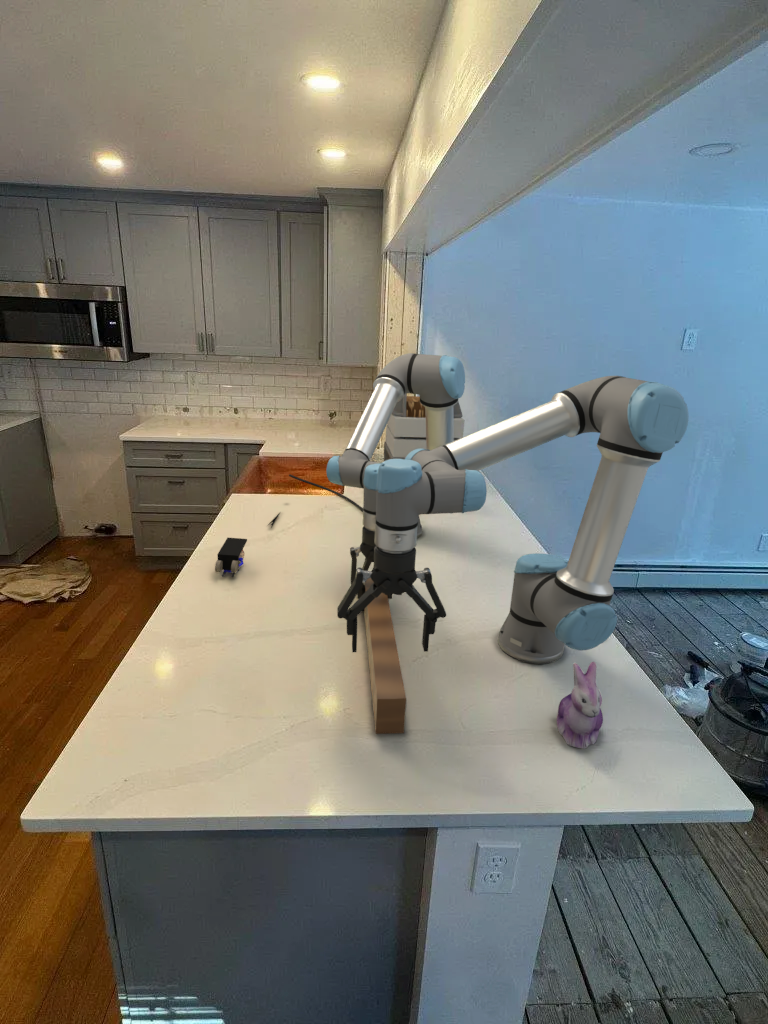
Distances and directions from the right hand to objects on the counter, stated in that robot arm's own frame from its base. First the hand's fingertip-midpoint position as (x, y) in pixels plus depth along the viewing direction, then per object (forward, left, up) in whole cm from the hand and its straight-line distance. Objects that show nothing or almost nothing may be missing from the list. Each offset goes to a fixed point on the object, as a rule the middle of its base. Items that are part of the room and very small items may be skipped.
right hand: (389, 648), depth 108 cm
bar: (-9, -16, -14) cm, 23 cm away
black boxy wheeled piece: (+4, -74, -14) cm, 75 cm away
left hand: (-19, -33, -13) cm, 40 cm away
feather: (-27, -109, -14) cm, 113 cm away
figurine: (-27, +26, -14) cm, 40 cm away
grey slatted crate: (-111, -132, -14) cm, 173 cm away
